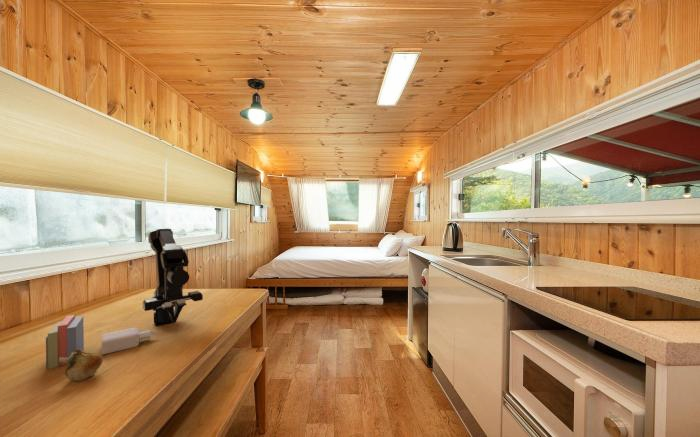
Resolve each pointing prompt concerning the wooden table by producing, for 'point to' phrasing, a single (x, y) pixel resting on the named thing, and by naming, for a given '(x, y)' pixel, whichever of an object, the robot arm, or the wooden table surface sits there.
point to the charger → (123, 339)
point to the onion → (81, 365)
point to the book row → (64, 340)
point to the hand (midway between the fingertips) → (174, 322)
